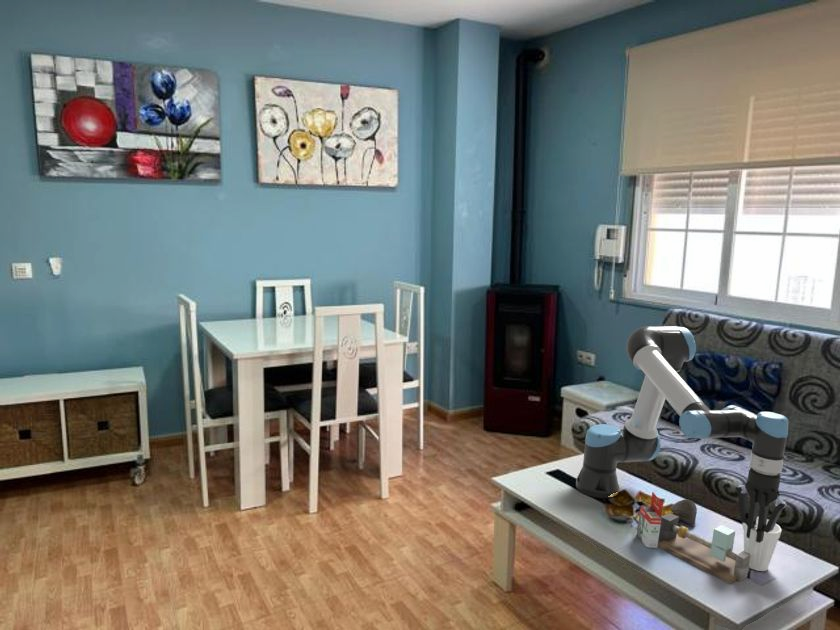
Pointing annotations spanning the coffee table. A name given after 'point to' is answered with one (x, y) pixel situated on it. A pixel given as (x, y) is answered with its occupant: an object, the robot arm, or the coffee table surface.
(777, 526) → the cup
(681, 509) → the stone
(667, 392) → the robot arm
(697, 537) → the wooden slider rod stand
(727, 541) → the sleeve
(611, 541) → the coffee table surface
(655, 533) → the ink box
